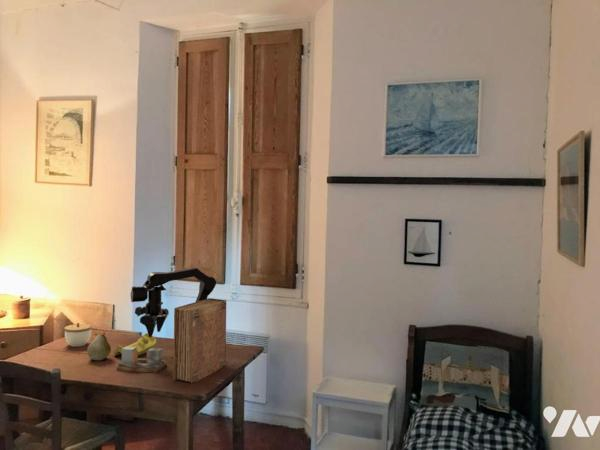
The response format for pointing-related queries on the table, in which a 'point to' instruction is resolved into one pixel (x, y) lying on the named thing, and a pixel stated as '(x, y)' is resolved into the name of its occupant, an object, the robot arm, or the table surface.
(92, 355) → the fruit
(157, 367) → the rail
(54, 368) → the table surface
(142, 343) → the plastic component
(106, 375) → the table surface
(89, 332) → the lidded bowl
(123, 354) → the grey green block
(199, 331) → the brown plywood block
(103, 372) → the table surface
